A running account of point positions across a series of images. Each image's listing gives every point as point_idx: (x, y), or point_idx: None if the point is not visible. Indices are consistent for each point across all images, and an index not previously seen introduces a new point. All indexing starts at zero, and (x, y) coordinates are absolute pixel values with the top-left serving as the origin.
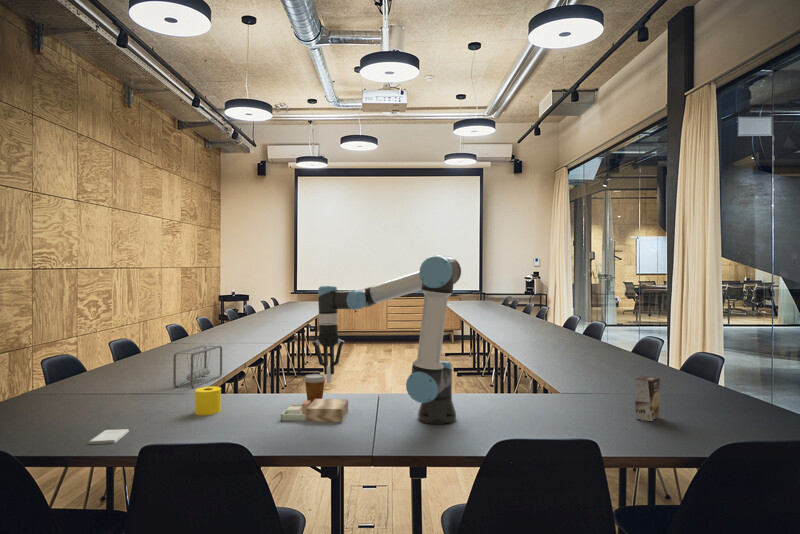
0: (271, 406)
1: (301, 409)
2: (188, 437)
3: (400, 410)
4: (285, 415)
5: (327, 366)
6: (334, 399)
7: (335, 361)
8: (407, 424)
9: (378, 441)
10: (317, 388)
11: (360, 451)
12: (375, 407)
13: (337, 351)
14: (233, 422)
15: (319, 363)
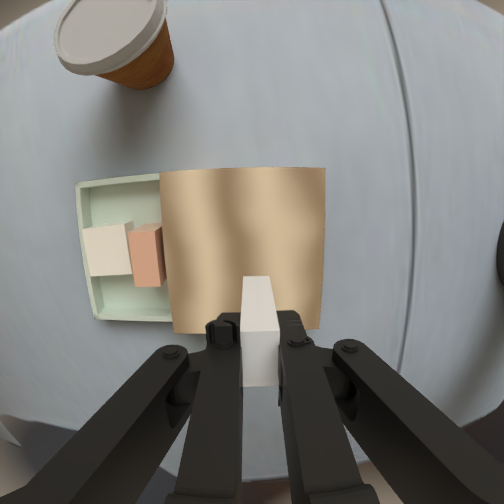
0: (21, 149)
1: (129, 231)
2: (17, 401)
3: (469, 160)
4: (109, 318)
5: (245, 369)
6: (258, 174)
7: (340, 411)
8: (472, 297)
9: None
10: (140, 67)
11: (357, 454)
12: (401, 115)
13: (398, 489)
14: (13, 321)
15: (166, 403)
